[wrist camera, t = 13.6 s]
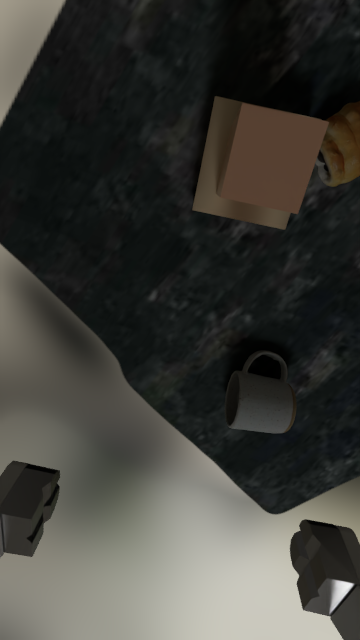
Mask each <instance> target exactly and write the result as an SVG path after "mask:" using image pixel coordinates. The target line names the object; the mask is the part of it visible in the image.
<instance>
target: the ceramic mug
mask: <svg viewBox="0 0 360 640" xmlns="http://www.w3.org/2000/svg"><path fill="white" fill-rule="evenodd" d="M261 355H266V356H269V357H271V358H273V359H274V360H278V361H279V363H280V365H281V378H280V379H275V378H269V377H264V376H260V375H256V374H252V373H248V368H249V367H250V365H251V363H252V362H253V361H254V360H255V359H256V358H257V357H259V356H261ZM287 372H288V371H287V366H286V363H285V362H284V360H283V359H282V358H281V357H280V356H279V355H278V354H276V353H273V352H271V351H267V350H261V351H257V352H255V353H253V354H252V355H250V356H249V358H248V359H247V361H246V362H245V364H244V367H243V370H242V371H234V373H233V374H232V375H231V378H230V380H229V383H228V387H227V392H226V399H225V417H226V422H227V425H228V426H229V427H230V428H233V429H243V430H251V431H260V432H267V433H284V432H286V431H288V430H289V429H290V427H291V426H292V424H293V422H294V419H295V415H296V396H295V393H294V391H293V389H292V387H291V386H290V385H289V384H288V383H286V380H287Z"/></svg>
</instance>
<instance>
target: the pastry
mask: <svg viewBox="0 0 360 640" xmlns="http://www.w3.org/2000/svg"><path fill="white" fill-rule="evenodd" d="M325 121H328V122H329V124H328V127H327V130H326V133H325V136H324V139H323V142H322V144H321V147H320V150H319V153H318V156H317V159H316V162H315V164H316V165H317V166H318V174H319V176H320V178H321V181H322V182H323V183H325V184H326V185H328V186H337V185H339V184H342V183H347V182H350V181H352V180H353V179H355V178H356V177H358V176H360V101H359V102H355V103H348V104H346V105H345V106H344V107H343V108H342V109H341V110H340V111H339V112H338V113H336V114H334V115H333V116H331V117H329V118H328V119H327V120H325Z"/></svg>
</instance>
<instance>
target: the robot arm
mask: <svg viewBox="0 0 360 640" xmlns="http://www.w3.org/2000/svg"><path fill="white" fill-rule="evenodd" d="M59 478H60V471H59V470H55V469H50V468H46V467H41V466H36V465H31V464H28V463H23V462H18V461H12V462H11V463H10V464H9V465H8V466H7V467H6V469H5V470H4V472H3V473H2V475H1V476H0V557H1V556H2V555H3V554H4V552H6V553H12V554H18V555H24V556H30V557H32V556H33V554H34V552H35V550H36V548H37V546H38V544H39V541H40V539H41V537H42V535H43V524H44V523H45V522H46V521H47V520H49V519H50V518H51V515H52V513H53V511H54V509H55V506H56V503H57V500H58V495H59V485H58V484H57V482H58V480H59ZM299 527H300V530H301V531H299V532H296V533H294V535H293V537H292V539H291V545H290V554H291V561H292V565H293V567H294V569H295V570H296V571H297V573H298V574H299V578H298V581H297V587H298V591H299V595H300V599H301V603H302V608H303V610H305V611H310V612H313V613H318V614H322V615H327V616H331V620H332V622H333V623H334V625H335V627H336V628H337V630H338V632H339V633H340V635H341V636H342V638H343V639H344V640H360V544H359V542H358V539H357V537H356V535H355V533H354V532H353V530H352V529H350V528H347V527H342V526H336V525H333V524H328V523H323V522H317V521H311V520H302V521H301V523H300V525H299Z"/></svg>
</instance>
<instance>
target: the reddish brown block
mask: <svg viewBox="0 0 360 640" xmlns="http://www.w3.org/2000/svg"><path fill="white" fill-rule="evenodd" d="M328 124H329V122H328V121H323V120H318V119H314V118H309V117H305V116H300V115H296V114H291V113H286V112H282V111H277V110H273V109H268V108H264V107H259V106H254V105H250V104H245V103H242V105H241V107H240V109H239V111H238V113H237V115H236V117H235V120H234V122H233V124H232V126H231V130H230V134H229V139H228V143H227V148H226V152H225V156H224V161H223V165H222V170H221V174H220V179H219V183H218V187H217V192H216V194H217V195H218V196H219V197H220V198H225V199H230V200H234V201H239V202H244V203H248V204H253V205H258V206H262V207H267V208H272V209H276V210H281V211H286V212H290V213H295V214H298V212H299V209H300V206H301V203H302V200H303V197H304V194H305V191H306V188H307V185H308V183H309V180H310V177H311V174H312V171H313V168H314V165H315V162H316V159H317V156H318V153H319V150H320V147H321V144H322V142H323V139H324V136H325V133H326V130H327V127H328Z"/></svg>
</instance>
